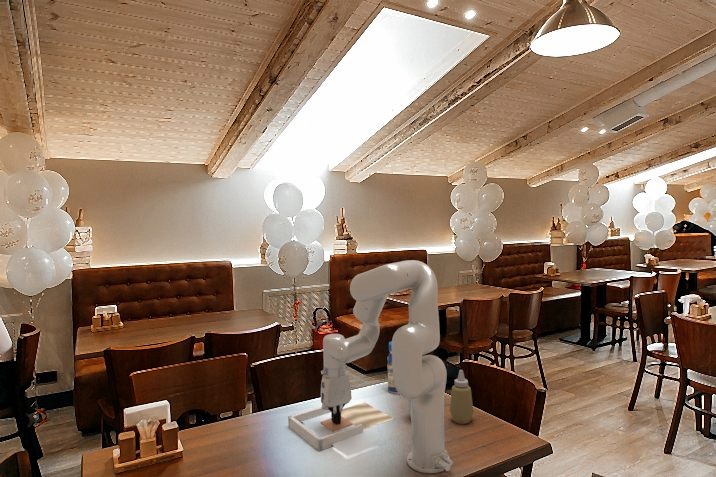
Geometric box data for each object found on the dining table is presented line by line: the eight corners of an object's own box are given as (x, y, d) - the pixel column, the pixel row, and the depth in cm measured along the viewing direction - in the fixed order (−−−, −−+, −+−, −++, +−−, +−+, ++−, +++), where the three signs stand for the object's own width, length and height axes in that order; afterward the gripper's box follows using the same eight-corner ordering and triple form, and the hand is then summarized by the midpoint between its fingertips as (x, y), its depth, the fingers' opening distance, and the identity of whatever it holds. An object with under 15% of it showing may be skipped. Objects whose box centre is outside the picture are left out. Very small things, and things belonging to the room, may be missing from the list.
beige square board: (394, 421, 168) (394, 418, 168) (361, 432, 160) (361, 430, 160) (364, 404, 183) (364, 402, 182) (333, 414, 175) (333, 411, 174)
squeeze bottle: (475, 425, 163) (475, 374, 162) (452, 426, 163) (451, 374, 162) (470, 415, 171) (470, 366, 170) (448, 415, 171) (447, 366, 170)
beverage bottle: (411, 388, 197) (410, 341, 196) (402, 396, 190) (401, 346, 189) (393, 385, 202) (392, 338, 200) (384, 392, 194) (382, 344, 193)
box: (363, 435, 158) (363, 425, 158) (319, 451, 149) (319, 440, 148) (329, 413, 176) (329, 404, 175) (288, 426, 166) (288, 416, 166)
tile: (352, 429, 164) (352, 423, 164) (333, 436, 159) (332, 430, 159) (340, 420, 170) (340, 415, 170) (320, 427, 166) (320, 421, 166)
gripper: (321, 378, 156) (323, 433, 157) (359, 369, 165) (360, 420, 166) (310, 372, 162) (312, 424, 163) (347, 363, 171) (348, 413, 172)
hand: (336, 422), depth 165 cm, fingers closed
